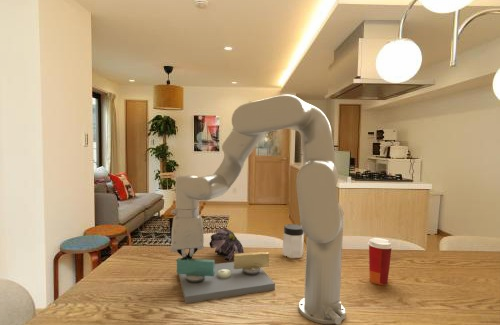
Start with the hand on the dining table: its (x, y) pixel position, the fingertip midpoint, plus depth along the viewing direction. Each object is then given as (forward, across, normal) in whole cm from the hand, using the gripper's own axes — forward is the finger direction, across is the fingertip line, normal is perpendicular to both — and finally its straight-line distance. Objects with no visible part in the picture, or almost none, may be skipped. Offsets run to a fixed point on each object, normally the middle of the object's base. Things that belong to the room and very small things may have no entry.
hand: (187, 267), depth 97 cm
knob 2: (+3, +21, -3) cm, 22 cm away
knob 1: (+3, +2, -3) cm, 5 cm away
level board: (+5, +12, -3) cm, 13 cm away
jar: (+5, +45, +12) cm, 47 cm away
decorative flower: (+5, +18, +18) cm, 26 cm away
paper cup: (+5, +62, -18) cm, 65 cm away
